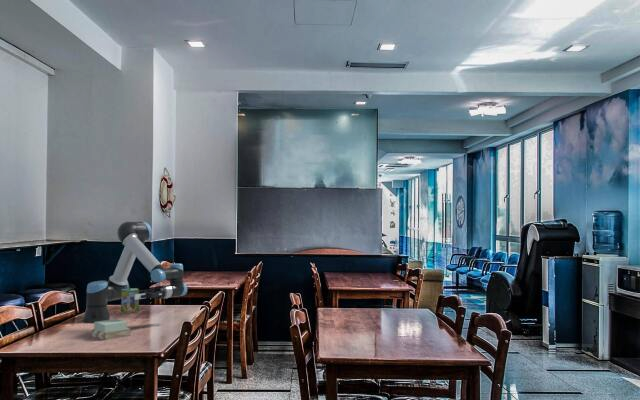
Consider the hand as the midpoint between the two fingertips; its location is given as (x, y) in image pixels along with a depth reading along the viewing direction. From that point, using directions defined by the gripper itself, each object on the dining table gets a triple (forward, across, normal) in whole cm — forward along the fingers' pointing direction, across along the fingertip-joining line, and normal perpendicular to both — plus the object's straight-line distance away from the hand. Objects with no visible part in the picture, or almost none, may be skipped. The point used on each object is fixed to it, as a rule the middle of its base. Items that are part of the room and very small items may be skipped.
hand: (128, 296), depth 289 cm
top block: (+11, -1, -16) cm, 20 cm away
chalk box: (-1, 0, -8) cm, 8 cm away
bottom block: (+10, -1, -20) cm, 23 cm away
